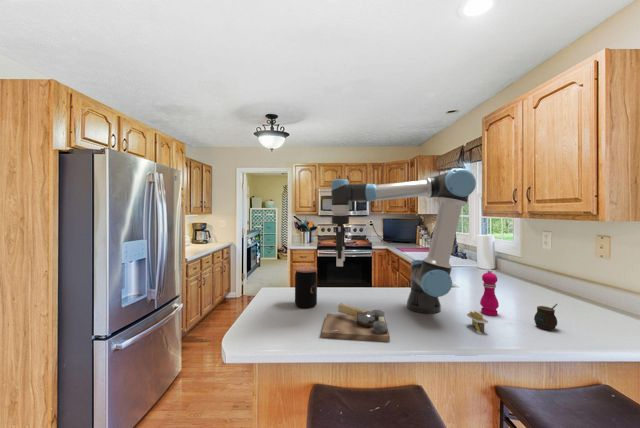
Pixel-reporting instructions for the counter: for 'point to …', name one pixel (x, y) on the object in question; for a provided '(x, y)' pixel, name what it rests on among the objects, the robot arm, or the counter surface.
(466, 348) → the counter surface
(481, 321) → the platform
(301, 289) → the coffee jar
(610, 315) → the counter surface
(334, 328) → the instrument base
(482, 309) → the pepper mill
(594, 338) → the counter surface
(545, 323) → the mate gourd
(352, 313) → the ball-head mallet
